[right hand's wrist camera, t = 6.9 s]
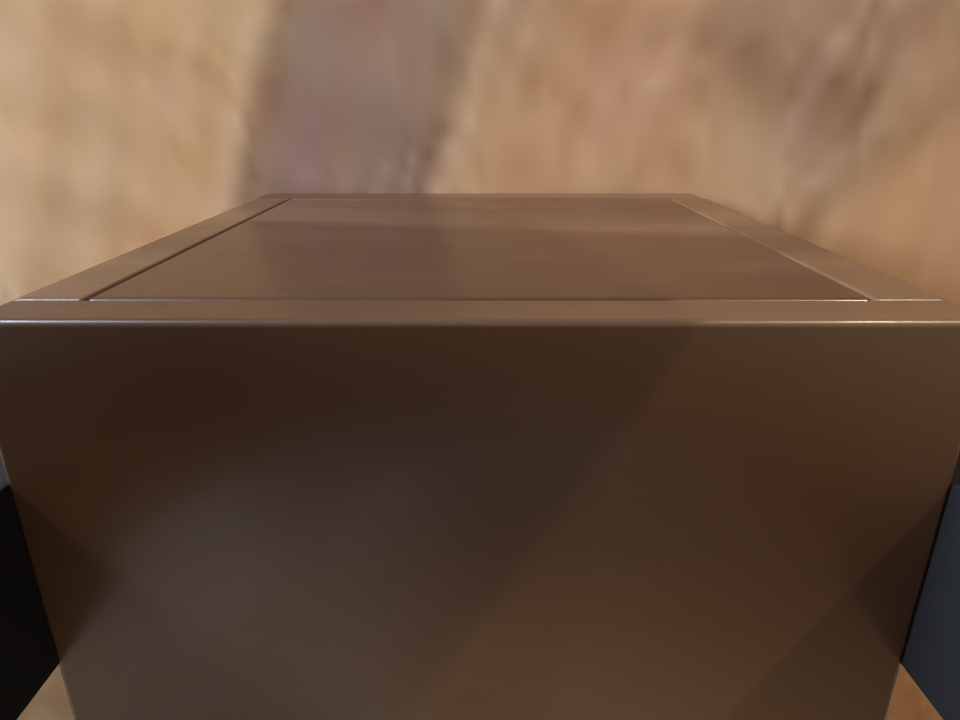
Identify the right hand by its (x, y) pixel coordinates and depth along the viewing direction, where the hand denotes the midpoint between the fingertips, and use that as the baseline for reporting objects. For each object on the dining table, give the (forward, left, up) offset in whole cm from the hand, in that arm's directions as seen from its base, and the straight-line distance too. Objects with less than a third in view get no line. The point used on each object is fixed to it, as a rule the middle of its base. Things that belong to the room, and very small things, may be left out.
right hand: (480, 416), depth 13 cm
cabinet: (+4, -6, -6) cm, 10 cm away
